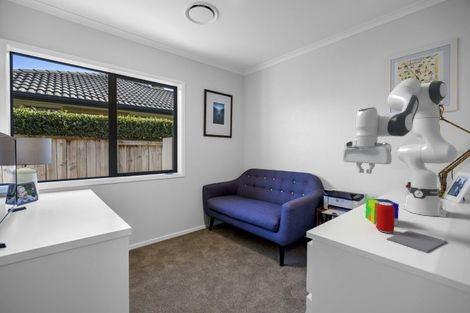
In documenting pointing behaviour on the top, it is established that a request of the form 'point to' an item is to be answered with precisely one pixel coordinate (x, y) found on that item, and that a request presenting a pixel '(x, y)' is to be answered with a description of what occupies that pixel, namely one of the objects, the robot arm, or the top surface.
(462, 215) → the top surface
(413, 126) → the robot arm
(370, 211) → the puzzle toy
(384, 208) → the beverage can
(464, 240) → the top surface
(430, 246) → the mat
